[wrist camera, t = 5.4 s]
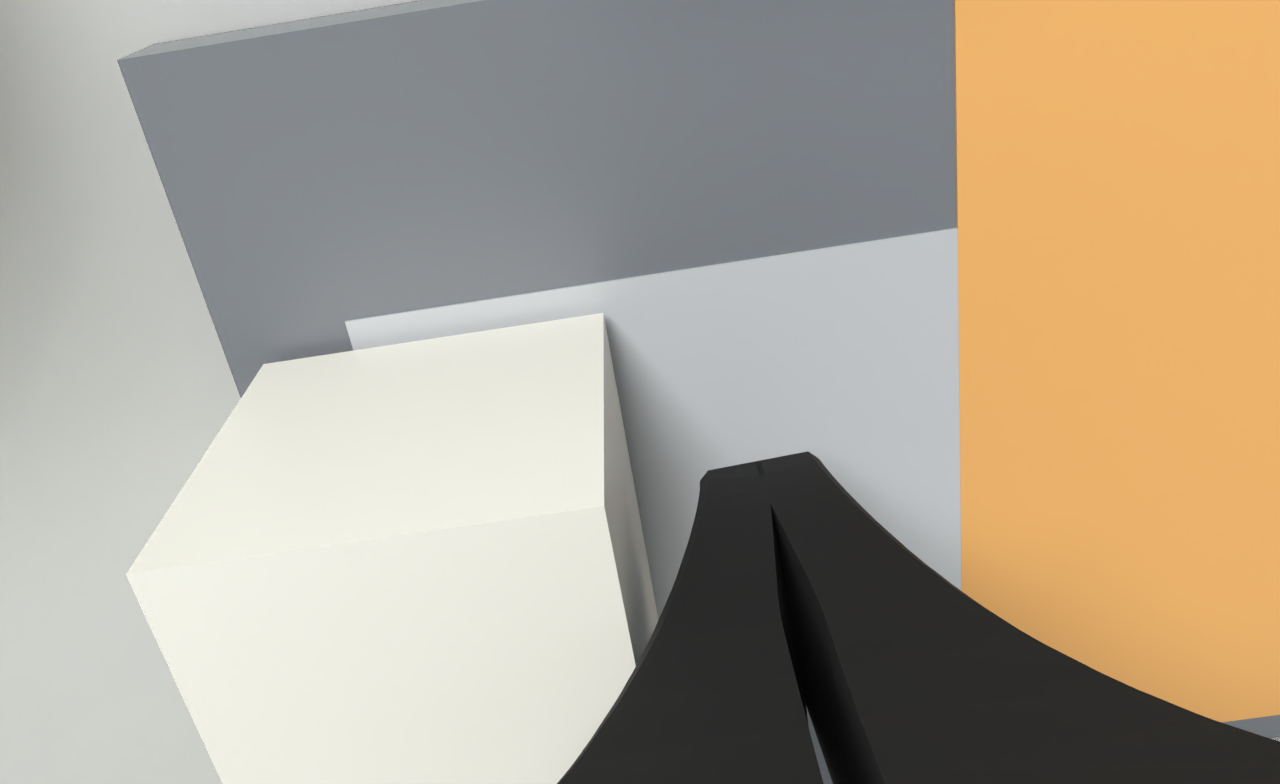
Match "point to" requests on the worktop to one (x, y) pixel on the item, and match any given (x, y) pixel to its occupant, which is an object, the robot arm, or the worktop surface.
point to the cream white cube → (408, 564)
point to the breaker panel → (814, 266)
